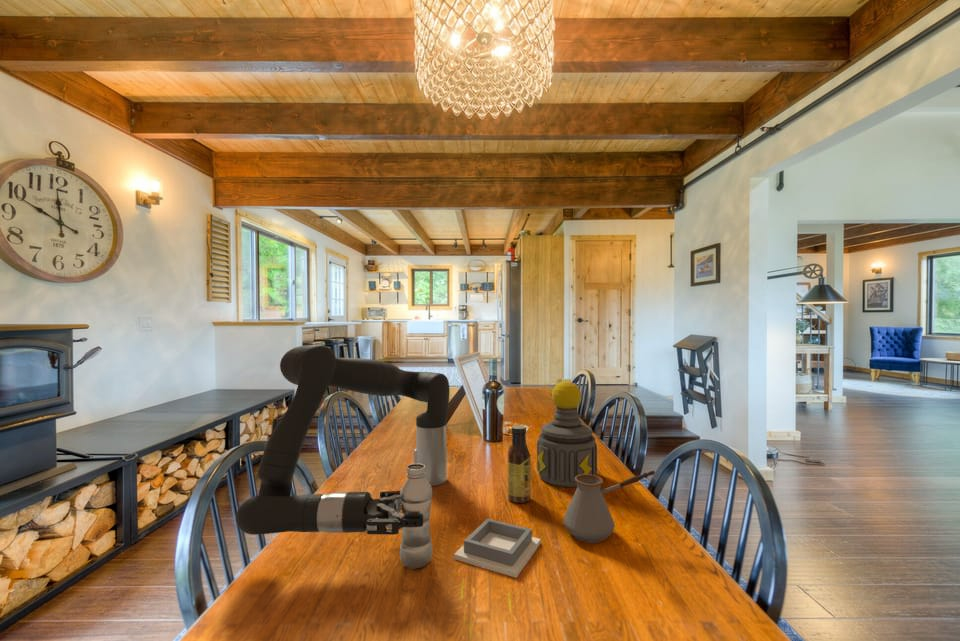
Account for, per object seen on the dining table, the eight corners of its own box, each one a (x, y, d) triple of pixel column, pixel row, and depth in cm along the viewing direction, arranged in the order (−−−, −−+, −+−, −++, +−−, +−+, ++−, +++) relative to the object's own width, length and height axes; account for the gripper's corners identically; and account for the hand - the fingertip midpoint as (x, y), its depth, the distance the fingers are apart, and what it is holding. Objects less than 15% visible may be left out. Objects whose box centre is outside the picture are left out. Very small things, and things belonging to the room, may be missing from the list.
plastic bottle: (401, 555, 90) (400, 461, 90) (433, 554, 91) (432, 460, 90) (397, 574, 84) (397, 473, 83) (432, 572, 84) (431, 471, 84)
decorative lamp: (572, 462, 146) (572, 375, 146) (611, 482, 129) (610, 383, 129) (525, 471, 138) (524, 379, 138) (559, 493, 121) (559, 388, 121)
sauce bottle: (529, 505, 114) (529, 431, 114) (506, 503, 115) (505, 429, 115) (531, 495, 120) (531, 424, 120) (509, 493, 121) (509, 423, 121)
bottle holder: (454, 559, 89) (454, 542, 89) (484, 528, 101) (484, 514, 101) (516, 577, 82) (516, 559, 82) (540, 543, 95) (540, 527, 95)
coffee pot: (567, 547, 93) (567, 478, 93) (560, 521, 105) (560, 460, 105) (667, 549, 92) (667, 480, 92) (649, 523, 104) (649, 462, 103)
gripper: (334, 509, 79) (421, 507, 80) (353, 480, 94) (428, 478, 94) (334, 549, 79) (422, 547, 80) (354, 514, 94) (428, 512, 94)
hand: (425, 510), depth 87 cm, fingers open, 8 cm apart
